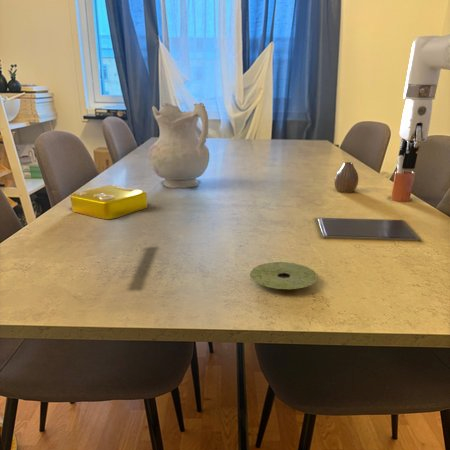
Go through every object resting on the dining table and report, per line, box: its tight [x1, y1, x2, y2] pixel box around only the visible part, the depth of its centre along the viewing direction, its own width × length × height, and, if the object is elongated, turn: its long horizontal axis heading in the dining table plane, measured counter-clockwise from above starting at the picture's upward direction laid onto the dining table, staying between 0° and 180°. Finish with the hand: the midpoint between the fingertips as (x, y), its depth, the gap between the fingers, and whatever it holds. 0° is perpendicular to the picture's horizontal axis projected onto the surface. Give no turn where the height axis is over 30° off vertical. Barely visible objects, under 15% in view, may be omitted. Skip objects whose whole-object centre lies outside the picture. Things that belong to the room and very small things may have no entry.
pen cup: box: [390, 170, 416, 203], centre depth 120 cm, size 5×5×8 cm
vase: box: [333, 161, 359, 194], centre depth 129 cm, size 7×7×9 cm
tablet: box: [317, 217, 421, 242], centre depth 98 cm, size 20×14×1 cm
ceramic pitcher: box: [148, 102, 210, 189], centre depth 136 cm, size 22×20×25 cm
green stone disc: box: [249, 261, 319, 290], centre depth 73 cm, size 11×11×2 cm
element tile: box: [69, 184, 148, 220], centre depth 114 cm, size 15×15×5 cm
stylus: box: [397, 155, 405, 174], centre depth 119 cm, size 2×2×12 cm
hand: (405, 166), depth 118 cm, fingers open, 4 cm apart
